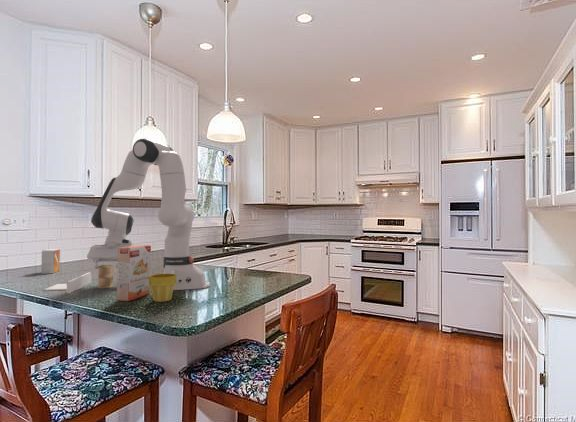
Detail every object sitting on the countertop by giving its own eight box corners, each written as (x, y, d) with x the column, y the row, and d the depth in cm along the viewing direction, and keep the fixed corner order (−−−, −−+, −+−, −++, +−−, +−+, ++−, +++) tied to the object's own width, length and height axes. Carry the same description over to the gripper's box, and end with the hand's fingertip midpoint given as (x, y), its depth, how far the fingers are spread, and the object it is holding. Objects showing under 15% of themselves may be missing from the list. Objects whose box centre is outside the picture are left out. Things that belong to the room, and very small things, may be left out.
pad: (82, 284, 166) (82, 283, 166) (71, 290, 154) (71, 288, 154) (56, 285, 164) (56, 284, 164) (43, 290, 152) (43, 289, 152)
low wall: (91, 282, 171) (91, 272, 171) (69, 293, 147) (69, 281, 147) (88, 282, 171) (88, 272, 171) (66, 293, 147) (66, 281, 147)
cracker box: (129, 301, 134) (130, 247, 134) (115, 301, 135) (116, 247, 136) (150, 294, 148) (151, 244, 148) (138, 293, 149) (138, 244, 149)
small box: (53, 273, 196) (54, 250, 196) (40, 273, 195) (41, 250, 195) (59, 271, 204) (60, 248, 204) (47, 271, 203) (47, 249, 203)
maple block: (112, 286, 163) (113, 264, 164) (109, 287, 160) (110, 266, 160) (101, 286, 163) (101, 264, 163) (98, 288, 159) (98, 266, 159)
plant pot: (153, 296, 143) (153, 273, 143) (178, 296, 143) (179, 273, 144) (144, 303, 132) (144, 277, 133) (172, 303, 133) (172, 277, 133)
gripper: (90, 240, 169) (81, 263, 159) (134, 240, 173) (128, 263, 163) (93, 249, 173) (85, 271, 164) (136, 248, 177) (131, 271, 167)
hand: (107, 267), depth 163 cm, fingers open, 8 cm apart
